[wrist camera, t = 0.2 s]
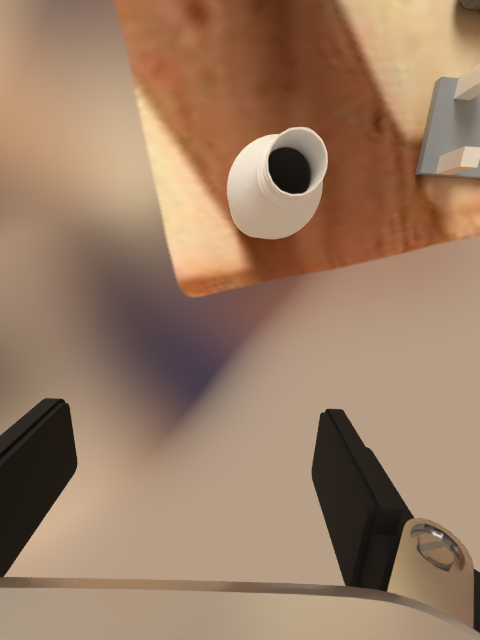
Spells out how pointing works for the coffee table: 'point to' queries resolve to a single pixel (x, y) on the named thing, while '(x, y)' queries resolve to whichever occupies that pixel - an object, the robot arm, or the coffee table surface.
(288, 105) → the coffee table surface
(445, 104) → the board
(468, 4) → the grey rounded bar
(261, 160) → the water bottle
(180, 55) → the coffee table surface
